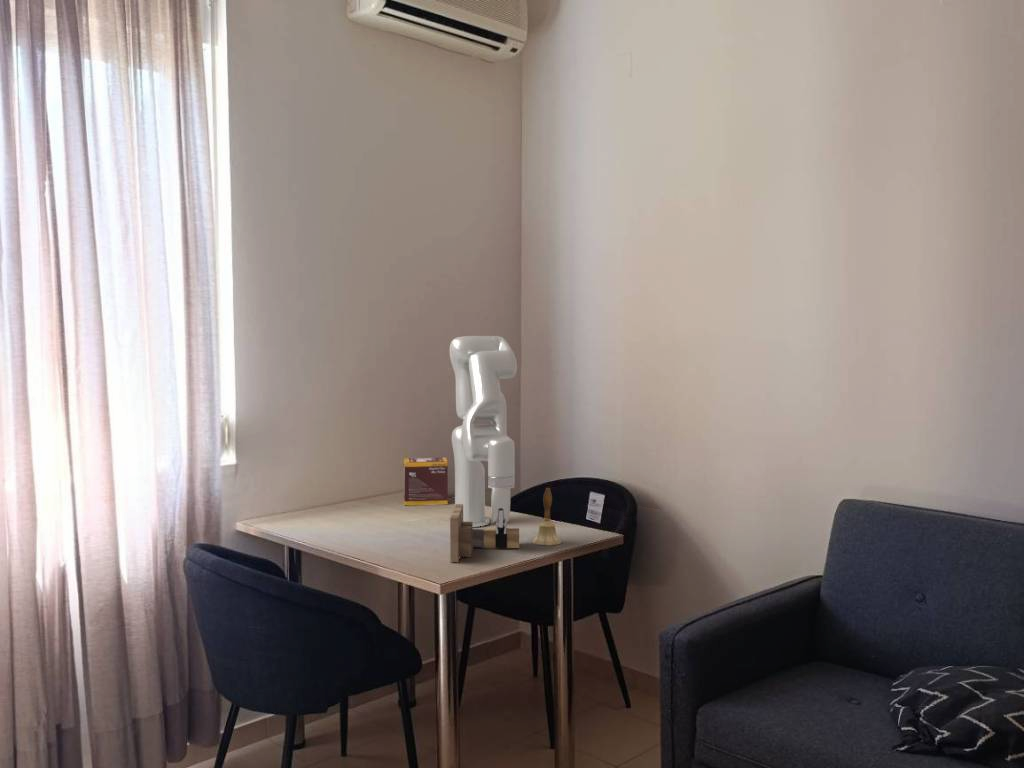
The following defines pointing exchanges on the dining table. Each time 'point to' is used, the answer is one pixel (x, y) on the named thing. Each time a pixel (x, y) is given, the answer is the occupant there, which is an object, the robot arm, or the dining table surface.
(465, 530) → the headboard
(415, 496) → the supplement box
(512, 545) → the tan and gray block
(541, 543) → the hand bell
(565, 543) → the dining table surface
